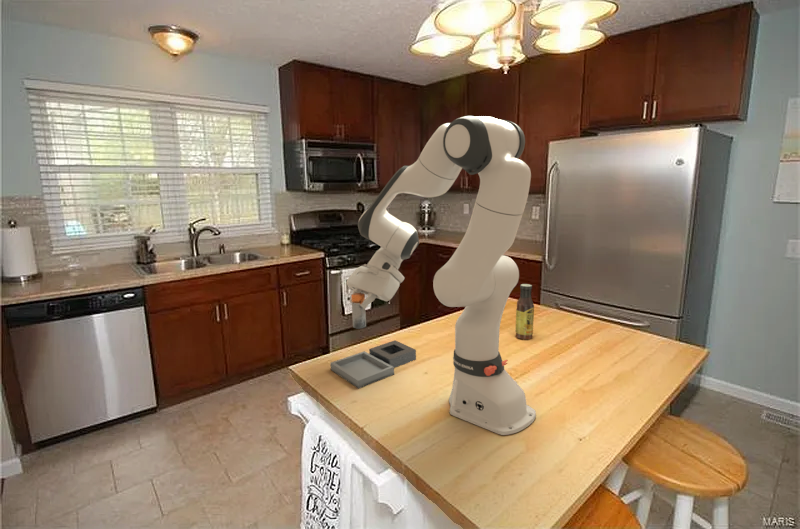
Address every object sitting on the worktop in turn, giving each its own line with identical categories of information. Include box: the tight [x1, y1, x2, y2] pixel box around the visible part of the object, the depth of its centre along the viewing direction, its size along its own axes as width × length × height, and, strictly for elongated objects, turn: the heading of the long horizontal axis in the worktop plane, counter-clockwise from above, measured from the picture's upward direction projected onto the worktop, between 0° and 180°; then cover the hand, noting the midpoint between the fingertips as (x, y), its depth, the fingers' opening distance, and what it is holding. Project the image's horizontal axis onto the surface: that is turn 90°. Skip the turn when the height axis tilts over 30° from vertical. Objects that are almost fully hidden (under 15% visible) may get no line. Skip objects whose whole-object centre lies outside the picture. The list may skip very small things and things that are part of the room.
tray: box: [329, 350, 395, 390], centre depth 127 cm, size 16×13×2 cm
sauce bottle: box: [514, 283, 535, 340], centre depth 149 cm, size 7×6×20 cm
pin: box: [350, 293, 367, 330], centre depth 123 cm, size 4×4×10 cm
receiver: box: [368, 339, 417, 369], centre depth 135 cm, size 11×11×4 cm
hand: (356, 305), depth 122 cm, fingers closed on pin, 4 cm apart
